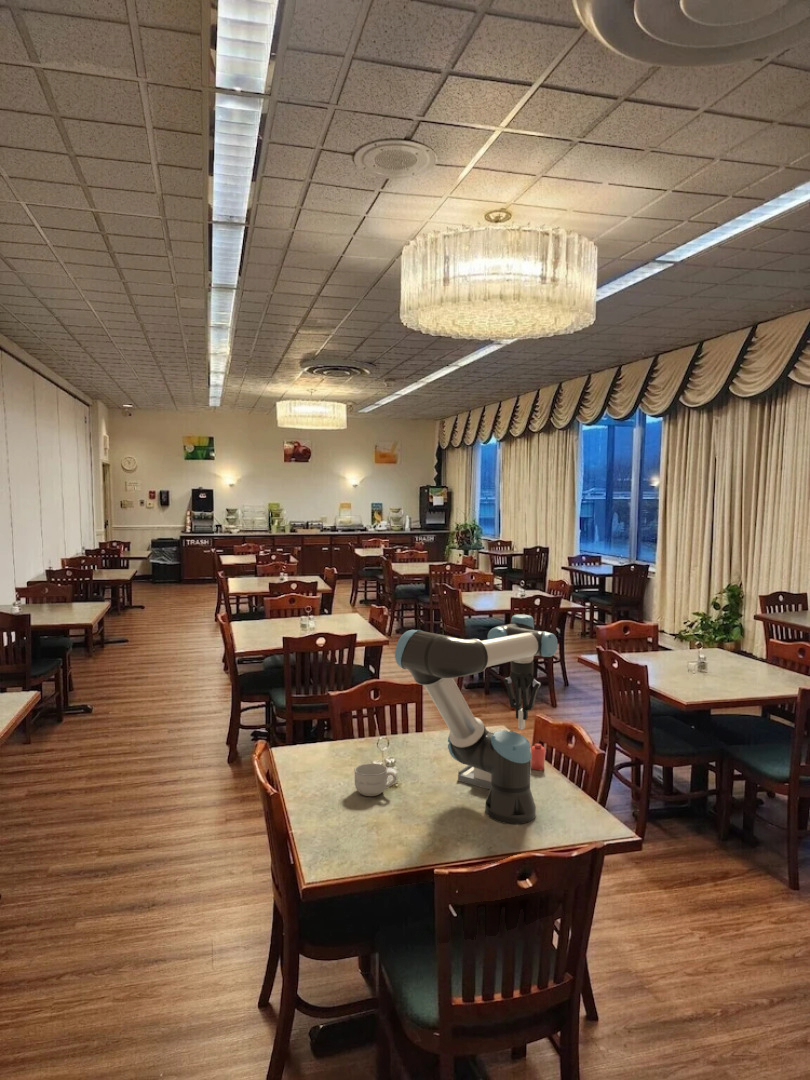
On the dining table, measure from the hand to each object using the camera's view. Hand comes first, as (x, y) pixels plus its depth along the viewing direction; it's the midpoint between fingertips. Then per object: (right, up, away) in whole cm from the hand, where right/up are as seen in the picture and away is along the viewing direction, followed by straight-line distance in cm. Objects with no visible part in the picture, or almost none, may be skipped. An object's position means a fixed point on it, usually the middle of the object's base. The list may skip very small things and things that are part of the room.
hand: (521, 728), depth 224 cm
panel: (-8, -16, +3) cm, 19 cm away
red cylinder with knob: (+7, -16, +8) cm, 19 cm away
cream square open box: (-11, -15, -5) cm, 19 cm away
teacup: (-50, -18, -13) cm, 54 cm away
